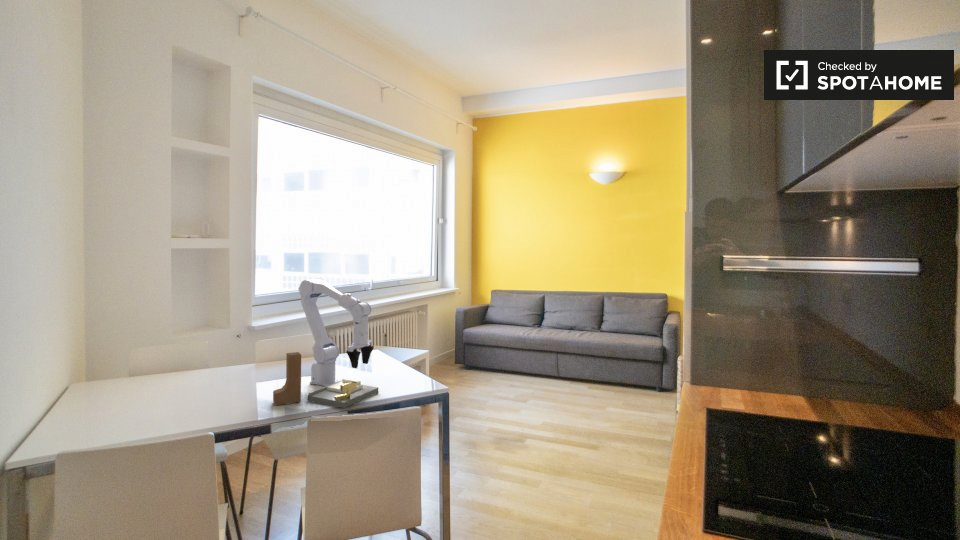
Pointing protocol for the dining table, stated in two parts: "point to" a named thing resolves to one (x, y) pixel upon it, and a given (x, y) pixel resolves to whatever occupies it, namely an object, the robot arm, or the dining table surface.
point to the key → (347, 388)
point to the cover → (337, 386)
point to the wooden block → (290, 381)
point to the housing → (328, 396)
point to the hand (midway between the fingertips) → (360, 365)
